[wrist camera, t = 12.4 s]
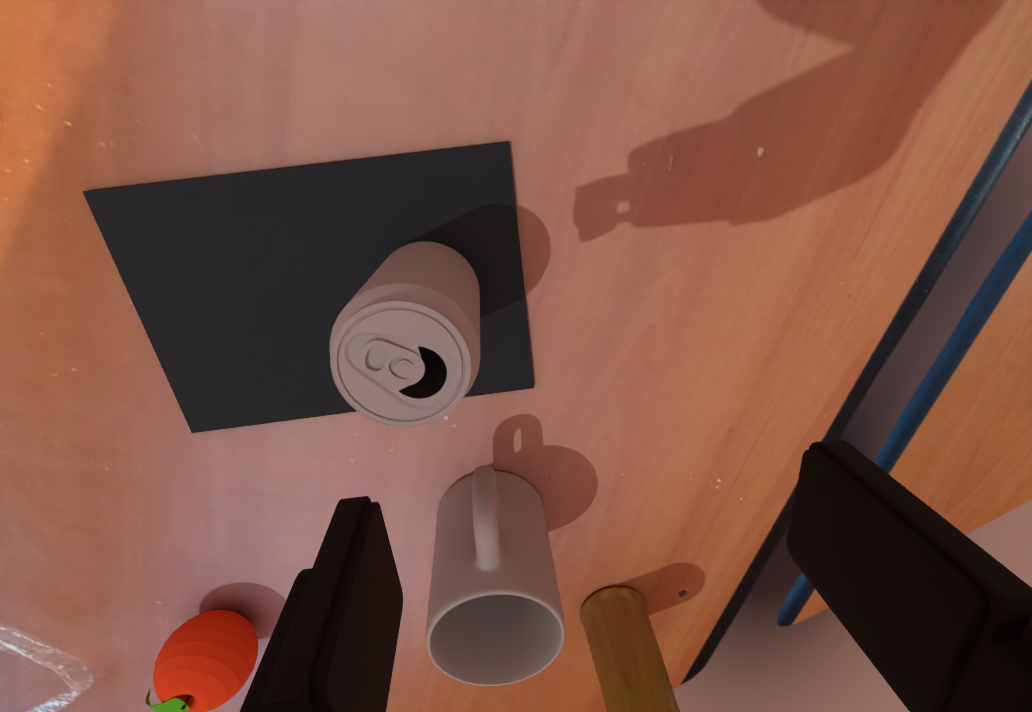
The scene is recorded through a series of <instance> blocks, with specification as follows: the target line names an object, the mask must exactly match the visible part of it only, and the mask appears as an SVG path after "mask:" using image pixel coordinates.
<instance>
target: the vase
mask: <svg viewBox="0 0 1032 712" xmlns="http://www.w3.org/2000/svg"><path fill="white" fill-rule="evenodd" d="M581 621H582V624H583V626H584V629H585V632H586V636H587V639H588V643H589V647H590V650H591V654H592V658H593V662H594V665H595V669H596V672H597V675H598V679H599V682H600V686H601V690H602V694H603V698H604V702H605V706H606V710H607V712H680V710H679V707H678V704H677V701H676V698H675V695H674V692H673V689H672V686H671V683H670V680H669V677H668V674H667V671H666V668H665V665H664V662H663V659H662V655H661V652H660V649H659V646H658V643H657V640H656V637H655V634H654V631H653V628H652V626H651V623H650V620H649V616H648V612H647V607H646V603H645V600H644V598H643V597H642V595H641V594H640V593H638V592H637V591H635V590H633V589H630V588H626V587H610V588H606V589H603V590H600V591H598V592H596V593H594V594H593V595H592V596H590V597H589V598H588V599H587V600H586V602H585V603H584V605H583V607H582V609H581Z"/></svg>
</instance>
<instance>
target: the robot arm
mask: <svg viewBox="0 0 1032 712" xmlns="http://www.w3.org/2000/svg"><path fill="white" fill-rule="evenodd" d="M786 543H787V549H788V552H789V554H790V556H791V558H792V559H793V560H794V562H795V563H796V564H797V566H798V567H799V568H800V570H801V571H802V572H803V574H804V575H805V576H806V577H807V579H808V580H809V581H810V583H811V584H812V585H813V587H814V588H815V589H816V590H817V592H818V593H819V594H820V596H821V597H822V598H823V600H824V601H825V602H826V603H827V605H828V606H829V607H830V609H831V610H832V611H833V613H834V614H835V615H836V616H837V618H838V619H839V620H840V622H841V623H842V624H843V626H844V627H845V628H846V629H847V631H848V632H849V633H850V635H851V636H852V637H853V639H854V640H855V641H856V642H857V644H858V645H859V646H860V648H861V649H862V650H863V652H864V653H865V654H866V656H867V657H868V658H869V659H870V661H871V662H872V663H873V665H874V666H875V667H876V668H877V670H878V671H879V672H880V674H881V675H882V676H883V678H884V679H885V680H886V681H887V683H888V684H889V685H890V687H891V688H892V689H893V691H894V692H895V693H896V695H897V696H898V697H899V698H900V700H901V701H902V702H903V704H904V705H905V706H906V707H907V709H908V710H909V711H910V712H1032V588H1031V587H1030V586H1029V585H1027V584H1026V583H1025V582H1024V581H1022V580H1021V579H1020V578H1018V577H1017V576H1016V575H1015V574H1013V573H1012V572H1011V571H1010V570H1008V569H1007V568H1006V567H1005V566H1003V565H1002V564H1001V563H1000V562H998V561H997V560H996V559H994V558H993V557H992V556H991V555H989V554H988V553H987V552H986V551H984V550H983V549H982V548H981V547H979V546H978V545H977V544H975V543H974V542H973V541H972V540H971V539H969V538H968V537H967V536H965V535H964V534H963V533H962V532H960V531H959V530H958V529H957V528H955V527H954V526H953V525H952V524H950V523H949V522H948V521H947V520H945V519H944V518H943V517H942V516H940V515H939V514H938V513H936V512H935V511H934V510H933V509H931V508H930V507H929V506H928V505H926V504H925V503H924V502H923V501H921V500H920V499H919V498H918V497H916V496H915V495H914V494H912V493H911V492H910V491H909V490H907V489H906V488H905V487H904V486H902V485H901V484H900V483H899V482H897V481H896V480H895V479H894V478H892V477H891V476H890V475H889V474H887V473H886V472H885V471H883V470H882V469H881V468H880V467H878V466H877V465H876V464H875V463H873V462H872V461H871V460H870V459H868V458H867V457H866V456H865V455H863V454H862V453H860V452H859V451H858V450H857V449H855V448H854V447H853V446H852V445H851V444H849V443H848V442H846V441H845V440H841V439H837V440H829V441H821V442H815V443H812V444H811V445H810V447H809V450H806V451H805V452H804V454H803V457H802V463H801V468H800V473H799V478H798V483H797V488H796V494H795V499H794V504H793V509H792V514H791V519H790V525H789V530H788V536H787V542H786ZM402 607H403V593H402V588H401V584H400V580H399V576H398V572H397V569H396V565H395V561H394V557H393V553H392V550H391V546H390V542H389V538H388V534H387V530H386V527H385V523H384V519H383V515H382V511H381V507H380V505H379V503H378V502H372V503H371V500H370V498H369V497H368V496H364V497H355V498H347V499H341V500H340V501H339V502H338V504H337V507H336V509H335V512H334V514H333V517H332V519H331V522H330V524H329V527H328V530H327V532H326V535H325V537H324V540H323V542H322V545H321V548H320V550H319V553H318V555H317V558H316V560H315V563H314V566H313V568H312V569H304V570H302V571H301V572H300V573H299V574H298V576H297V577H296V579H295V581H294V584H293V586H292V588H291V591H290V593H289V596H288V598H287V600H286V603H285V605H284V607H283V610H282V612H281V615H280V617H279V619H278V622H277V624H276V626H275V629H274V631H273V634H272V636H271V638H270V641H269V643H268V646H267V648H266V650H265V653H264V655H263V657H262V660H261V662H260V665H259V667H258V669H257V672H256V674H255V676H254V679H253V681H252V684H251V686H250V688H249V691H248V693H247V696H246V698H245V700H244V703H243V705H242V707H241V710H240V712H386V708H387V701H388V695H389V689H390V683H391V677H392V670H393V664H394V658H395V652H396V645H397V639H398V633H399V627H400V621H401V614H402Z"/></svg>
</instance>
